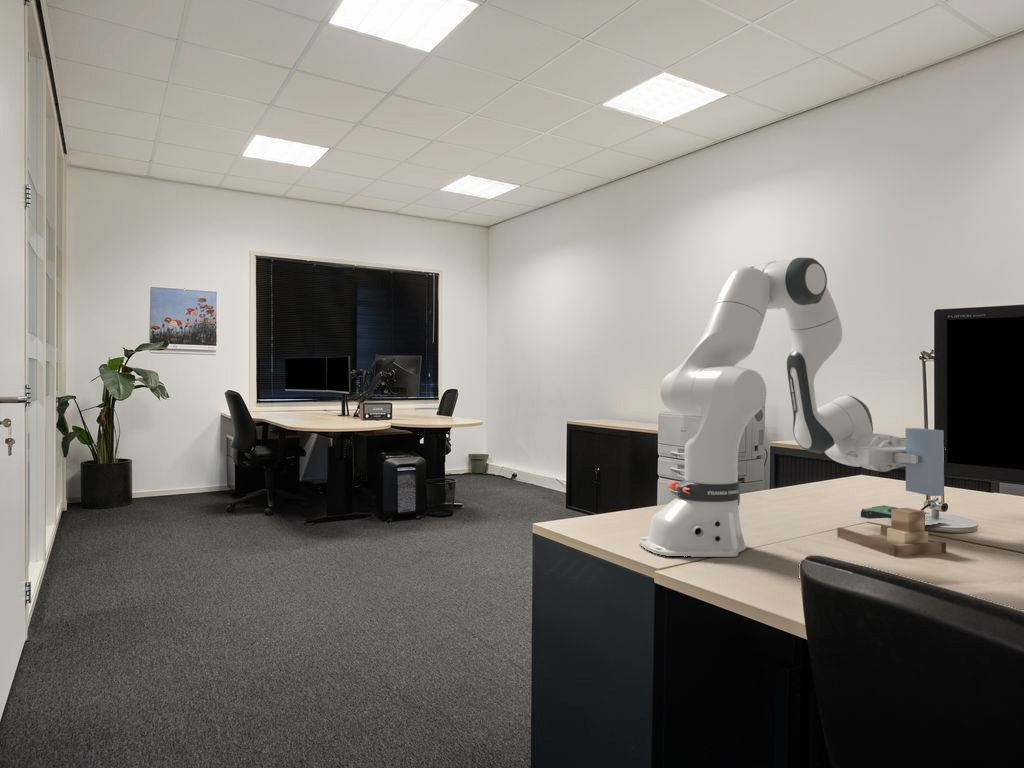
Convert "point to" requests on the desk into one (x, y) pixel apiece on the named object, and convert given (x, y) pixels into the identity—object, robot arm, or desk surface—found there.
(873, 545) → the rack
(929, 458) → the blue rectangular block
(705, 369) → the robot arm
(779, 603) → the desk surface
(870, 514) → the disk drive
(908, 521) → the offcut top
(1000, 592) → the desk surface
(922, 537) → the block
